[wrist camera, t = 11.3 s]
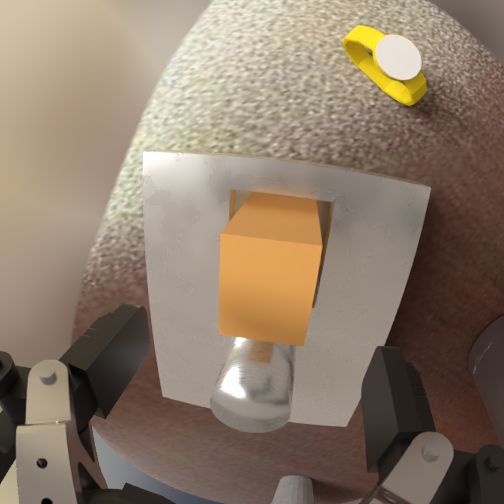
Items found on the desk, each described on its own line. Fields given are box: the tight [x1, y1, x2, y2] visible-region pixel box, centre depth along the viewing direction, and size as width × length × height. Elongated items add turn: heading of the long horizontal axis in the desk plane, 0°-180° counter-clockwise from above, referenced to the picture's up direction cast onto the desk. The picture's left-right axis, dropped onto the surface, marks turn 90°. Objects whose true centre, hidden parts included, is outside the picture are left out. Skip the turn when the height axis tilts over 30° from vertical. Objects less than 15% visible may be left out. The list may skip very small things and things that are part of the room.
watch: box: [342, 25, 427, 106], centre depth 15 cm, size 6×3×6 cm, turn 49°
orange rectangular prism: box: [219, 191, 323, 346], centre depth 18 cm, size 4×5×10 cm
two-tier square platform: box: [143, 150, 431, 433], centre depth 20 cm, size 18×21×12 cm
